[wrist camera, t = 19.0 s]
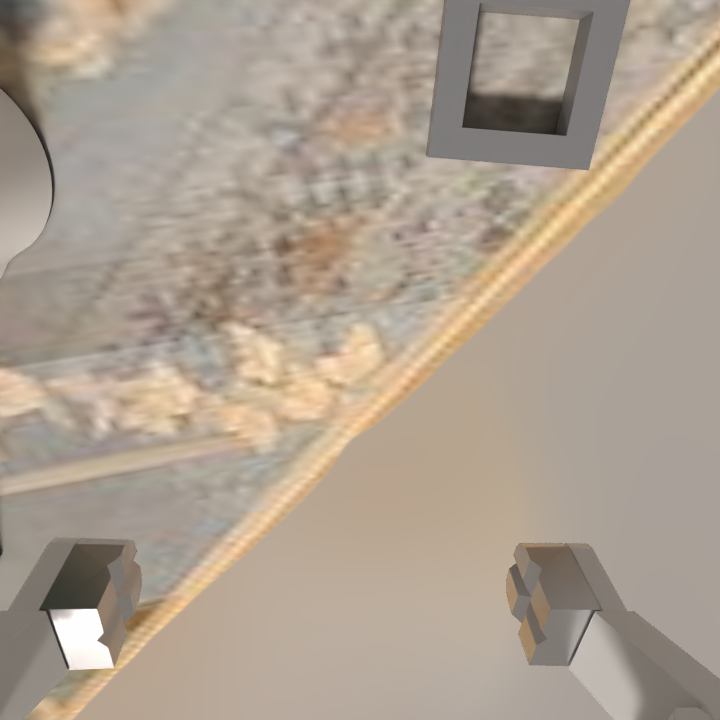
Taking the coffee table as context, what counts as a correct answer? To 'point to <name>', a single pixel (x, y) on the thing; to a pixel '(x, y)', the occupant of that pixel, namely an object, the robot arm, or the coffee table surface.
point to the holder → (581, 98)
